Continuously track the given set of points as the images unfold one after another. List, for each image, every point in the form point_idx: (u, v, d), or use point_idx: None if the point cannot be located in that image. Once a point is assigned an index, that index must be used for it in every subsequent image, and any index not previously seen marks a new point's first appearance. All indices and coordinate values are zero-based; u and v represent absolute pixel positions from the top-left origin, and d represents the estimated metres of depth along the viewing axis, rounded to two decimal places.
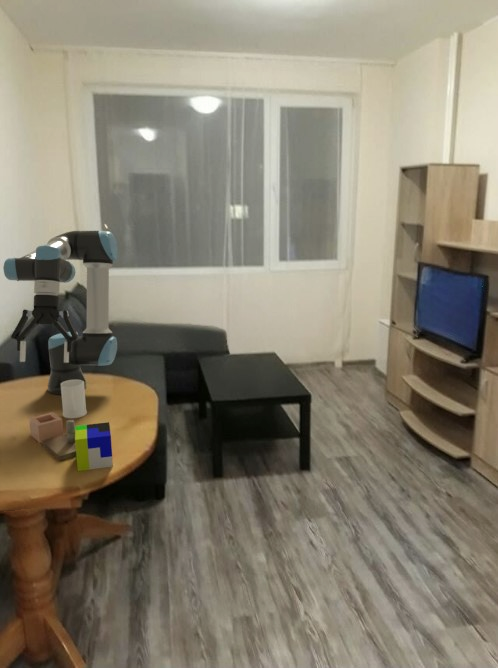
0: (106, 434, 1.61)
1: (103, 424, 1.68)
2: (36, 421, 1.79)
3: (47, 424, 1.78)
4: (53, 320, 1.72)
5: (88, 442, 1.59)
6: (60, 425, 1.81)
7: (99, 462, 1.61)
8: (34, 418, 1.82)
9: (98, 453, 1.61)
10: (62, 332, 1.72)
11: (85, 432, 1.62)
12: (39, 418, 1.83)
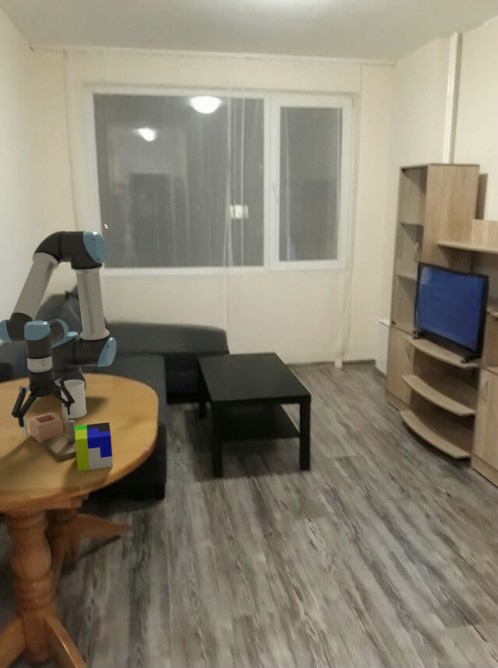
0: (106, 434, 1.61)
1: (103, 424, 1.68)
2: (36, 421, 1.79)
3: (47, 424, 1.78)
4: (53, 391, 1.80)
5: (88, 442, 1.59)
6: (60, 425, 1.81)
7: (99, 462, 1.61)
8: (34, 418, 1.82)
9: (98, 453, 1.61)
10: (61, 400, 1.83)
11: (85, 432, 1.62)
12: (39, 418, 1.83)
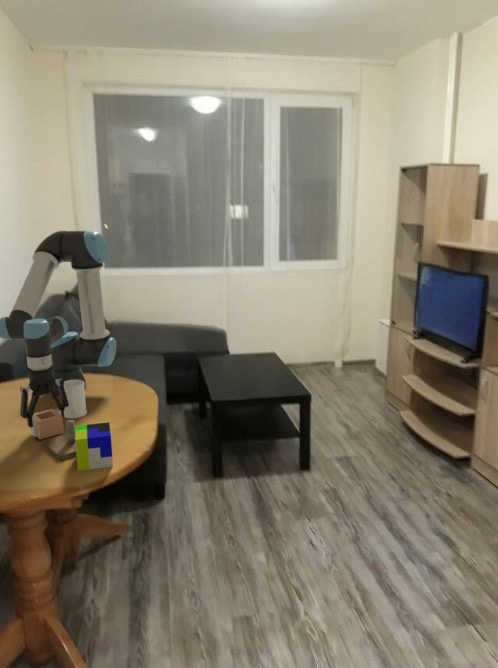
0: (106, 434, 1.61)
1: (103, 424, 1.68)
2: (36, 418, 1.80)
3: (47, 421, 1.78)
4: (52, 391, 1.80)
5: (88, 442, 1.59)
6: (60, 422, 1.81)
7: (99, 462, 1.61)
8: (34, 415, 1.82)
9: (98, 453, 1.61)
10: (57, 401, 1.82)
11: (85, 432, 1.62)
12: (39, 415, 1.83)
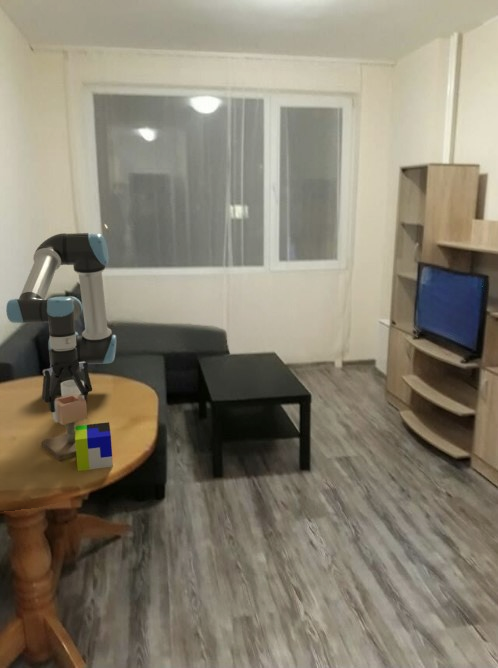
0: (106, 434, 1.61)
1: (103, 424, 1.68)
2: (58, 402, 1.69)
3: (70, 405, 1.68)
4: (75, 374, 1.70)
5: (88, 442, 1.59)
6: (84, 407, 1.71)
7: (99, 462, 1.61)
8: (56, 399, 1.72)
9: (98, 453, 1.61)
10: (80, 385, 1.72)
11: (85, 432, 1.62)
12: (61, 399, 1.73)
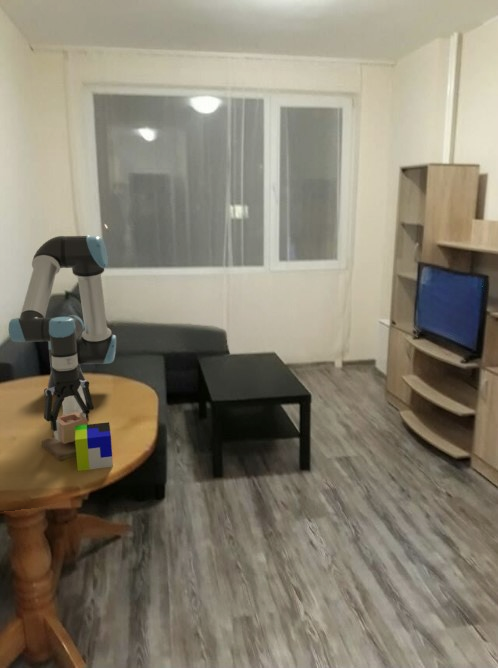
0: (106, 434, 1.61)
1: (103, 424, 1.68)
2: (60, 421, 1.71)
3: (72, 424, 1.70)
4: (77, 393, 1.71)
5: (88, 442, 1.59)
6: None
7: (99, 462, 1.61)
8: (58, 418, 1.73)
9: (98, 453, 1.61)
10: (82, 404, 1.74)
11: (85, 432, 1.62)
12: (63, 418, 1.74)
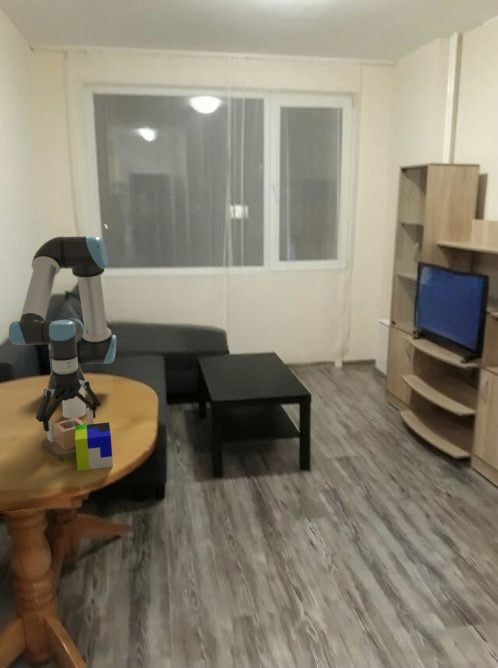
0: (106, 434, 1.61)
1: (103, 424, 1.68)
2: (60, 427, 1.71)
3: (72, 430, 1.70)
4: (79, 394, 1.72)
5: (88, 442, 1.59)
6: None
7: (99, 462, 1.61)
8: (58, 424, 1.74)
9: (98, 453, 1.61)
10: (87, 402, 1.75)
11: (85, 432, 1.62)
12: (63, 424, 1.75)
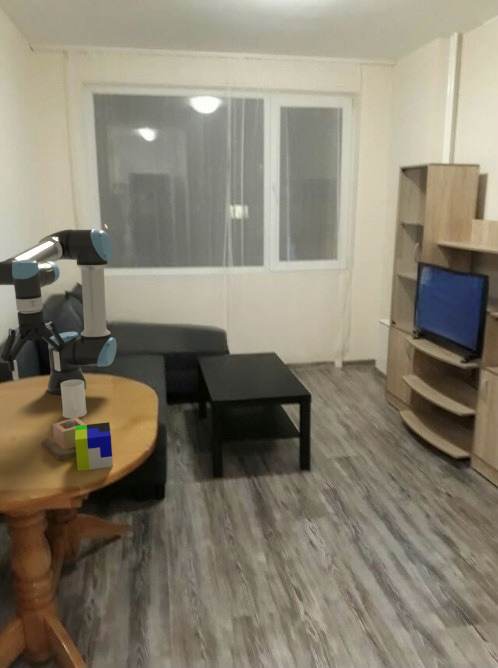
0: (106, 434, 1.61)
1: (103, 424, 1.68)
2: (60, 427, 1.71)
3: (72, 430, 1.70)
4: (44, 335, 1.73)
5: (88, 442, 1.59)
6: None
7: (99, 462, 1.61)
8: (58, 424, 1.74)
9: (98, 453, 1.61)
10: (53, 344, 1.76)
11: (85, 432, 1.62)
12: (63, 424, 1.75)
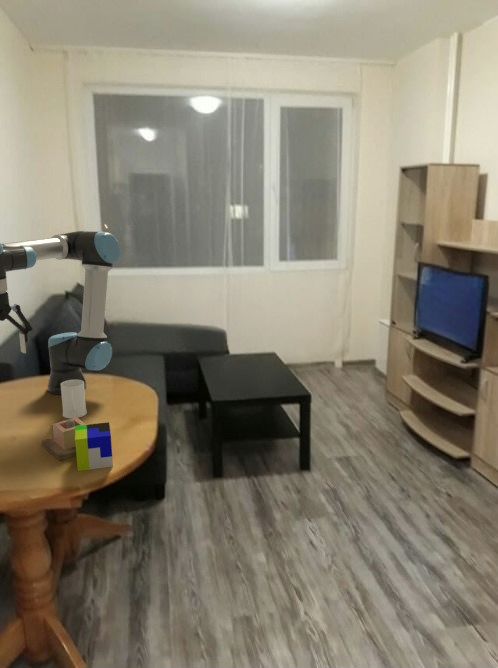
0: (106, 434, 1.61)
1: (103, 424, 1.68)
2: (60, 427, 1.71)
3: (72, 430, 1.70)
4: (9, 316, 1.77)
5: (88, 442, 1.59)
6: None
7: (99, 462, 1.61)
8: (58, 424, 1.74)
9: (98, 453, 1.61)
10: (18, 326, 1.80)
11: (85, 432, 1.62)
12: (63, 424, 1.75)
